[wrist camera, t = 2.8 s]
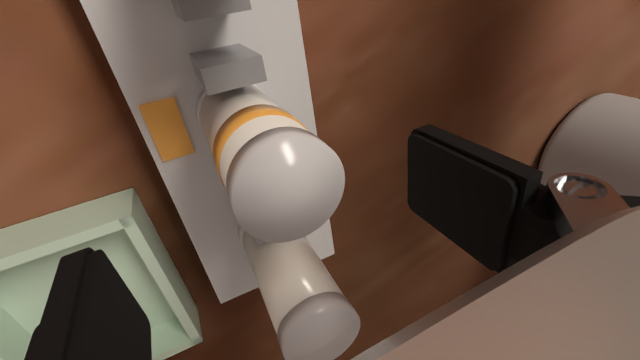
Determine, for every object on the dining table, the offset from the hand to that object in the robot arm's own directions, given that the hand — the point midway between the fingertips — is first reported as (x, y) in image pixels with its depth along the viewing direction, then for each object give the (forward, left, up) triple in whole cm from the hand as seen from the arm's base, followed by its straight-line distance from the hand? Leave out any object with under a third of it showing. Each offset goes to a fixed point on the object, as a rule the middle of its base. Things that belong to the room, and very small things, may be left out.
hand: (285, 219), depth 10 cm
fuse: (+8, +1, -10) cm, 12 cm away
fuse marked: (0, +1, -10) cm, 10 cm away
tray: (+9, -10, -12) cm, 18 cm away
